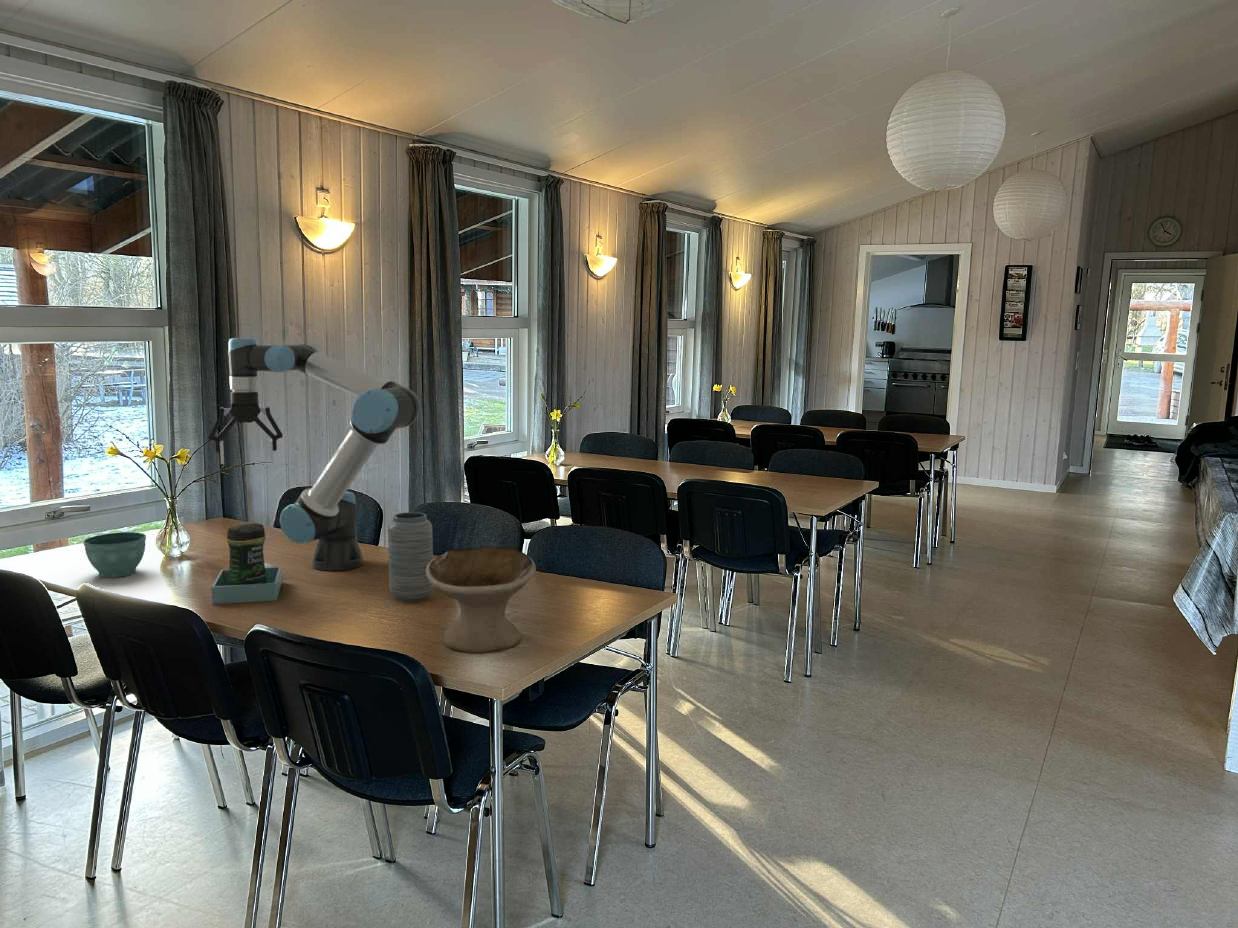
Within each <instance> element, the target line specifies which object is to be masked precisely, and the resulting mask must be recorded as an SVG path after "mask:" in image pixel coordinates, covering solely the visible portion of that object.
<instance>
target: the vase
mask: <svg viewBox="0 0 1238 928" xmlns="http://www.w3.org/2000/svg"><path fill="white" fill-rule="evenodd" d="M427 517H428V516H427V514H425V513H424V512H416V511H415V512H414V511H410V512H400V513H395V514H394V515H393V516H392V518H393V519H392V521H390V522H389V524H388V527H387V538H388V540H387V541H388V544H387V545H388V585H389V589H388V590H389V593H390V594H391V596H392V597H394V598H395V601H397V602H400V603H406V604H407V603H408V604H410V603H411V604H412V603H420V602H422V601H426V600H427V599H428V598H429V596H430V595H431V594H432V592H433V589H434V587H433V586H432V585H431V584H430V582H429V580H428V578H427V576H426V568H427V565H428V563H429V562H430V561H432V560H433V559H434V554H433V553H434V552H433V551H434V549H433V547H434V546H433V545H434V544H433V542H434V541H433V525H432V522H431V521H430V520H429V519H427Z"/></svg>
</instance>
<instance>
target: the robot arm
mask: <svg viewBox="0 0 1238 928" xmlns="http://www.w3.org/2000/svg"><path fill="white" fill-rule="evenodd" d="M227 349H228V350H227V354H228V363H229V388H230V389H229V390H231V391H230V408H227V407H226V408H225V407H224V406H223V407H220V408H219V413H218V414H219V415H218V418H217V419H216V421H215V424H214V425H213V427H212V430H211V431H210V434H209V435H208V439H209V440H210V441H214V442H215V451H216V453H219V454H220V456H219V457H220V465H224V464H225V455H224V454H225V452H224V440H222V439H223V437H225V435H226V434H227V433H228V431H229V430H231V428H232V427H233V426H234V425H235V424H236V423H239V424H244V423H249V424H250V423H254V422H255V423H256V424H257V425H258V426H259V428H261V430H262V431H263V432H265V434H267V436H268V437H269V438H270V439H269V457H270V459H269V461H270V463H274V451H275V452H277V449H278V445H277V441H278V440H279V439H282V438H283V437H284V436H283V432H282V430H281V429H280V428H279V425H278V424H277V422H276V420H275V419H274V417H273V416H272V413H271V408H270V407H269V406H266V407H260V406H259V393H258V391H257V390H258V389H259V383H258V382H259V381H258V372H271V373H272V372H274V373H287V372H290V371H298V372H300V373H301V374H305V375H307V376H310V377H312V378H314V379H316V380H318V381H321V382H323V383H325V384H327V385H329V386H331V387H334V388H335V389H338V390H340V391H342V392H345V393H346V394H349V395H351V396H353V397H355V400H354V402H353V404H352V407H351V413H352V415H351V418H350V420H349V424H350V427H351V429H350V430H349V432H348V433H347V434H346V436H345V437H344V439H343V440H342V442H341V444H340V445H339V447H338V448H337V449H336V450H335V452H334V454H333V455H332V456H331V458H330V460H329V461H328V463H327V464H326V466H325V468H324V469H323V471H322V472H321V473H320V474H319V476H318V477H317V479H316V481H315V482H314V484H313V485H312V486H311V487H310V488H305V489H304V490H303V491H302V492H301V493H300V495H299V496H298V498H297V499H296V501H295V502H294V503H292V504H288V505H287V506H285V507H284V508H283V509H282V511H280V515H279V524H280V528H281V531H282V533H283V535H284V536H285V538H287V540H289V541H290V542H292V543H295V544H297V545H298V544H301V545H302V544H308V543H311V542H313V541H316V543H315V544H316V545H315V548H314V549H313V550H314V551H313V554H312V557H311V567H312V568H313V569H316V570H319V571H328V572H329V571H345V570H351V569H355V568H359V567H361V566H363V564H364V555H363V552H362V550H361V548H360V547H361V546H360V544H359V542H358V539H357V538H358V537H357V503H356V495H355V494H354V493H353V492H352V491H348V490H349V488H350V487H351V485H353V482H354V481H355V479H356V478H357V477H358V475H359V474H360V472H361V470H362V469H363V467H364V466H365V464H366V463H367V462H368V460H369V459H370V458H371V456H372V454H373V453H374V451H376V449H377V447H378V446H379V445H385V444H386V443H387V442H388V441H389V439H390V438H391V437H392V435H393V434H394V432H395V431H396V430H397V429H403V428H406V427H409V426H411V425H412V424H414V423H415V422H416V420H417V419H418V418H419V416H420V412H421V401H420V399H419V397H418V395H417V394H416V393H415V392H414V390H411V389H410V388H408V387H407V386H404V385H402V384H399V383H397V382H395V381H392V380H388V381H384V380H382V379H379V378H377V377H376V376H375V377H374V376H373V375H370V374H368V373H366V372H364V371H361V370H359V369H356V368H354V367H352V366H350V365H348V364H345V363H343V362H341V361H338V360H337V359H334V358H332V357H329V356H327V355H325V354H323V353H321V352H319V350H318V349H317V348H316V347H315V346H313V345H310V344H305V343H304V344H289V345H288V344H287V345H285V344H284V345H283V344H280V345H277V344H274V345H269V344H267V345H263V344H262V345H260V344H257V341H256V339H255V338H254V337H253V338H252V337H233V338H229V340H228V348H227ZM228 413H229V414H230V415H231V416H232V419H231V420H230V421H229V422H228V423H227V425H226V426H225V427H224V428H223V429H222V430H221V432H219V434H218V435H216V433H217V431H218V429H219V428H220V425H221V423H222V421H223V419H224V417H225V416H227V415H228ZM260 413H262V414H263V415H265V416H266V418H267V419H268V421H269V422H270V424H271V426H272V428H273V430H274V432H275V433H276V434H275V433H274V432H272V430H271V429H269V427H268V426H267V425H266V424H265V423H264V422H263V421H262V420H261V419H260V418H259V415H260Z"/></svg>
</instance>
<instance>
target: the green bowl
mask: <svg viewBox="0 0 1238 928" xmlns="http://www.w3.org/2000/svg"><path fill="white" fill-rule="evenodd" d="M146 540H147V535H146V534H145V533H143V532H134V531H133V532H132V531H126V532H125V531H124V532H122V531H121V532H119V531H118V532H111V533H110V532H109V533H103V534H98V535H94V536H90V537H87V538H85V539H84V540H83V542H82V543H83V546H84V551H85V555H86V557H87V559H88V561H89V563H90V565H91V566H92V567H93V568H94V569H95V570H96V571H97V573H98V575H99V577H101V578H108V579H111V578H112V579H114V578H122V577H126V576H131V575H134V574H135V573H136V572H137V567H138V566H139V564H140V563H141V561H142V559H143V557H144V555H145V551H146Z"/></svg>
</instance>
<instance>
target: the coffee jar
mask: <svg viewBox="0 0 1238 928" xmlns="http://www.w3.org/2000/svg"><path fill="white" fill-rule="evenodd" d="M265 540H266V532H265V527H264V525H263V524H261V523H256V522H251V523H244V524H239V525H233V526H230V527H229V526H228V528H227V534H226V542H227V544H228V548H229V569H228V570H229V581H228V586H232V585H249V584H267V579H266V572H265V564H264V563H265V557H264V543H265Z"/></svg>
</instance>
